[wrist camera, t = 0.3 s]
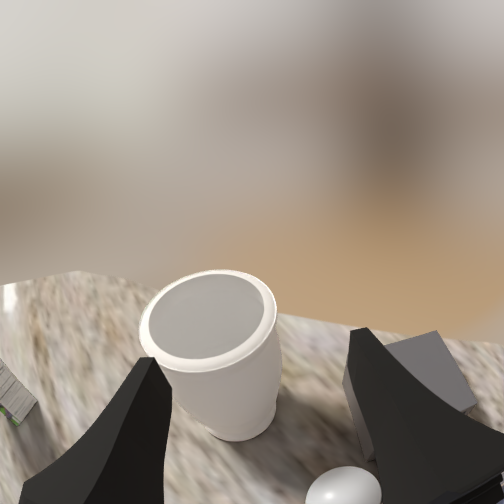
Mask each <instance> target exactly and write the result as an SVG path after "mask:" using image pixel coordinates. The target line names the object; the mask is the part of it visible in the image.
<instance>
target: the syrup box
mask: <svg viewBox="0 0 504 504" xmlns="http://www.w3.org/2000/svg"><path fill="white" fill-rule="evenodd" d="M36 402H37V399H36V398H35V397H34V396H33V395H32V394H31V393H30V392H29V391H28V390H27V389H26V388H25V387H24V386H23V384H22V383H21V382H20V381H19V380H18V379H17V378H16V377H15V375H14V374H13V373H12V372H11V371H10V370H9V368H8V367H7V366H6V365H5V364H4V362H3V361H2V360H1V359H0V411H1V412H2V413H3V414H4V415H5V416H6V417H7V418H8V419H9V420H11V421H12V422H13V423H14V424H15V425H16V426H19V425H20V423H21V422H22V421H23V419H24V418H25V417H26V415H27V414H28V413H29V411H30V410H31V409H32V407H33V406H34V404H35V403H36Z"/></svg>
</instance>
